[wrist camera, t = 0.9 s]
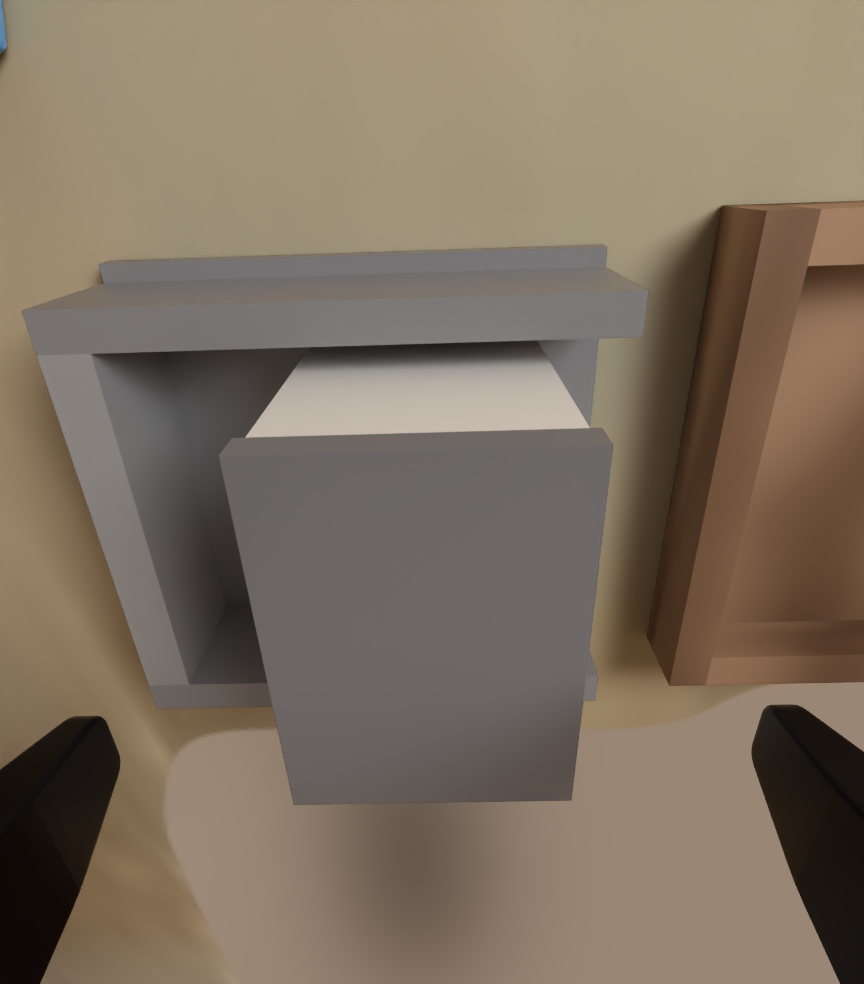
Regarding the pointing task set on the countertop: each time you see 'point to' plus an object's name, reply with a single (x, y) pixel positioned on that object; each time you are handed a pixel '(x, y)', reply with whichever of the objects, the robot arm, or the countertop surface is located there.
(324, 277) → the grey drawer cabinet
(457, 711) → the grey-fronted drawer box
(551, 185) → the countertop surface
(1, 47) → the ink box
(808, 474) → the walnut tray
